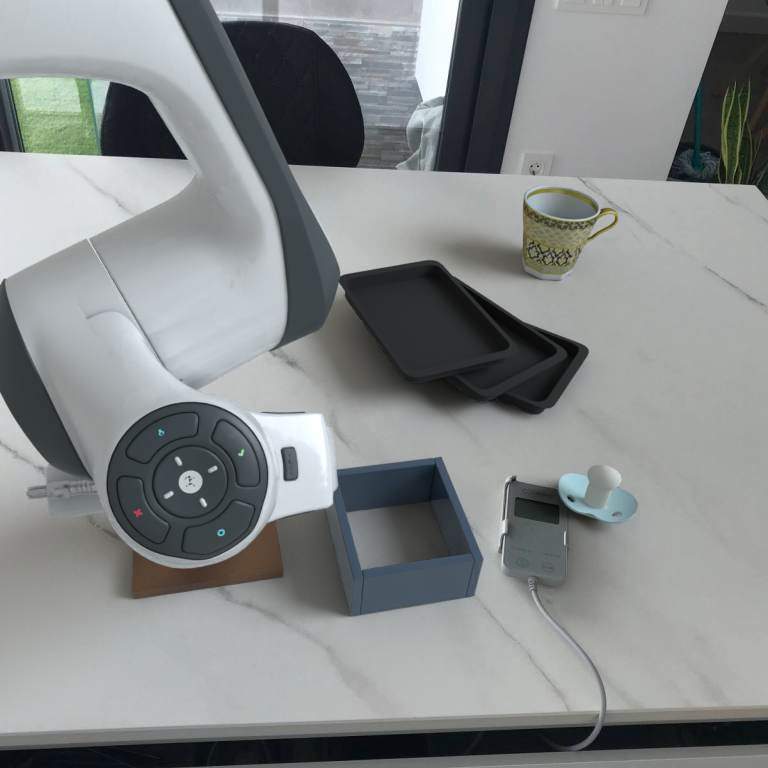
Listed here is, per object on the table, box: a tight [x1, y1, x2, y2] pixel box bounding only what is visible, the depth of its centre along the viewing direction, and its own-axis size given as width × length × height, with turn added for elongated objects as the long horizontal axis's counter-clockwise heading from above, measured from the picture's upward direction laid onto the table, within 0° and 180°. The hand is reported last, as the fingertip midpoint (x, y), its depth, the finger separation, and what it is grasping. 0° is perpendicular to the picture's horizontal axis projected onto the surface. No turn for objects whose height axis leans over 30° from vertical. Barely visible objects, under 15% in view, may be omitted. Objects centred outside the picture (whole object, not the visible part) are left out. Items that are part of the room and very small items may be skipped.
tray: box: [339, 259, 590, 415], centre depth 88 cm, size 30×23×5 cm
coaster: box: [132, 521, 285, 600], centre depth 67 cm, size 12×10×1 cm
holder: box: [324, 456, 484, 617], centre depth 66 cm, size 11×12×5 cm
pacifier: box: [557, 464, 639, 525], centre depth 72 cm, size 7×6×6 cm
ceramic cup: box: [521, 184, 619, 281], centre depth 104 cm, size 13×10×10 cm
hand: (198, 471), depth 62 cm, fingers open, 8 cm apart
